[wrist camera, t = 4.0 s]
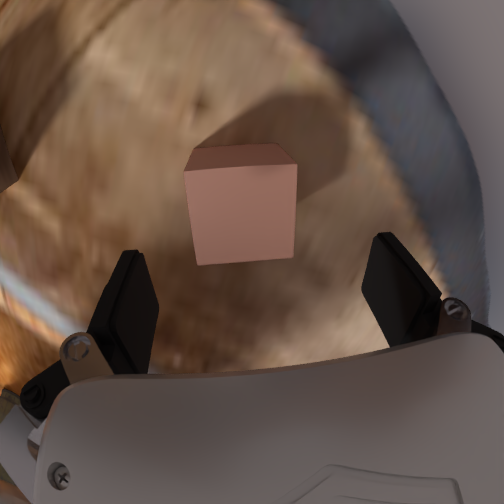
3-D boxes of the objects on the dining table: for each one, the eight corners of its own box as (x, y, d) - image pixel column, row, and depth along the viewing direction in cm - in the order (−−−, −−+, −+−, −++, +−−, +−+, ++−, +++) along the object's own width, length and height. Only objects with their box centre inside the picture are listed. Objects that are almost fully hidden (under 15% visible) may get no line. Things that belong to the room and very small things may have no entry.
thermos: (27, 411, 44) (9, 520, 15) (-7, 386, 38) (-33, 499, 9) (41, 411, 43) (23, 532, 14) (4, 384, 36) (-24, 511, 7)
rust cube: (276, 215, 23) (293, 257, 18) (202, 221, 22) (197, 265, 17) (276, 142, 19) (297, 164, 14) (193, 148, 19) (183, 171, 14)
